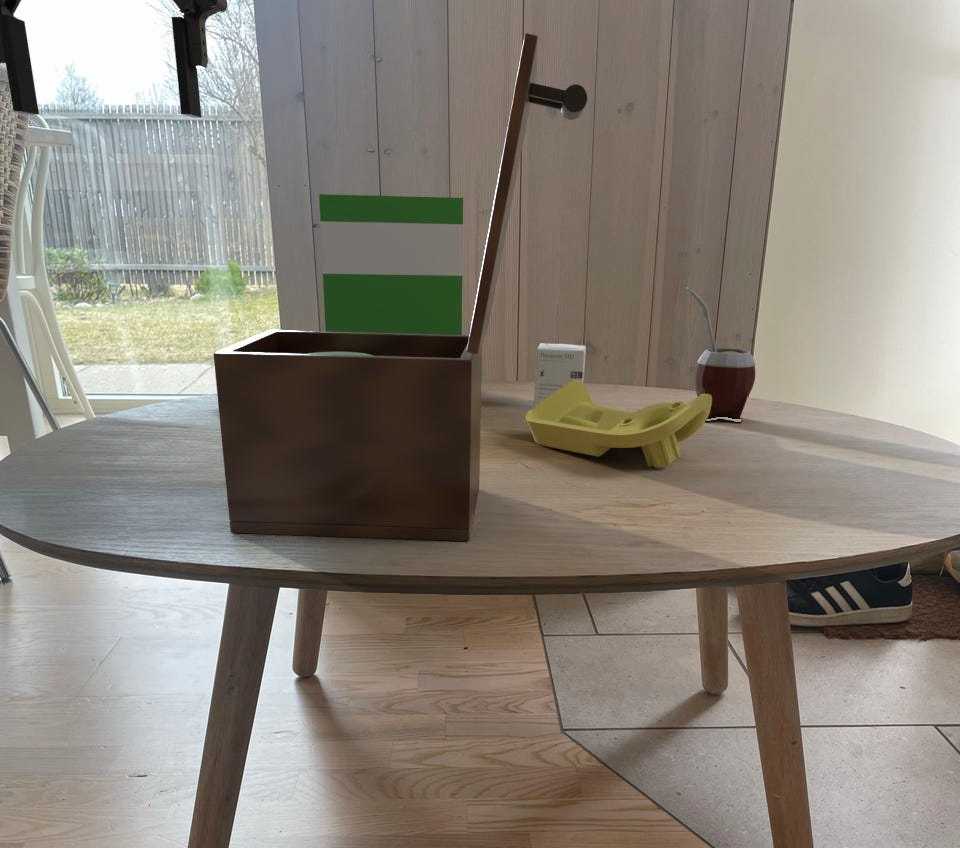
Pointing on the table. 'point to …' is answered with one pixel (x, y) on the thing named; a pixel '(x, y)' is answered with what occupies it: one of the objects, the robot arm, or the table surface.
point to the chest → (351, 434)
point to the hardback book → (392, 264)
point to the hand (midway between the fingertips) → (108, 115)
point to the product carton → (557, 368)
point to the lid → (515, 173)
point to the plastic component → (615, 424)
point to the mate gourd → (723, 374)
